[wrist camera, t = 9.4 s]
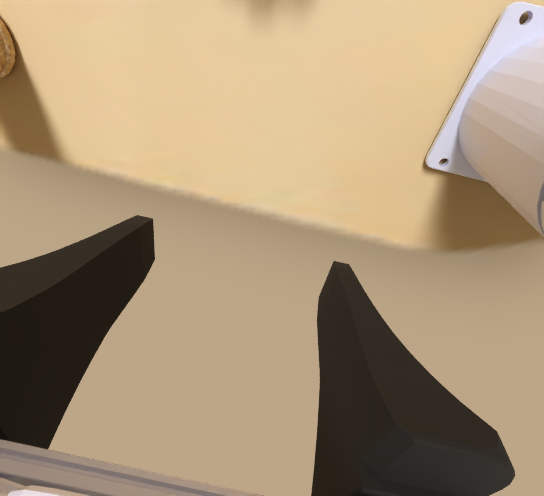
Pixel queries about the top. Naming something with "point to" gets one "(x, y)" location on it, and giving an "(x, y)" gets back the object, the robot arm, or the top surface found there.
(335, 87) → the top surface
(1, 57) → the sprinkles bottle
